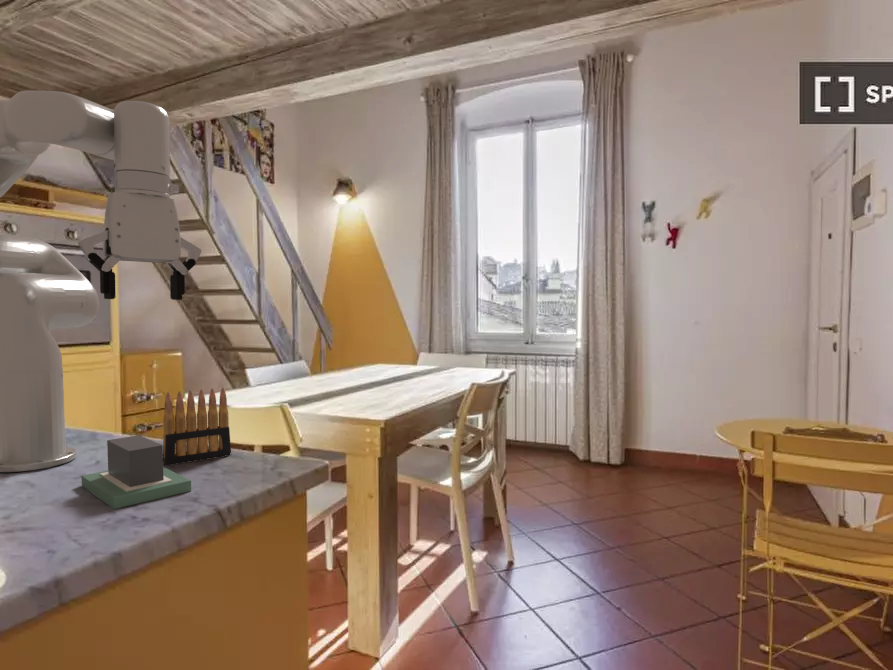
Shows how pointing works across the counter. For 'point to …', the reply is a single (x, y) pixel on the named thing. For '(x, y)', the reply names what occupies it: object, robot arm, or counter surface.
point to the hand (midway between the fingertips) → (144, 299)
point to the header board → (134, 488)
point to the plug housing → (135, 460)
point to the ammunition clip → (195, 429)
